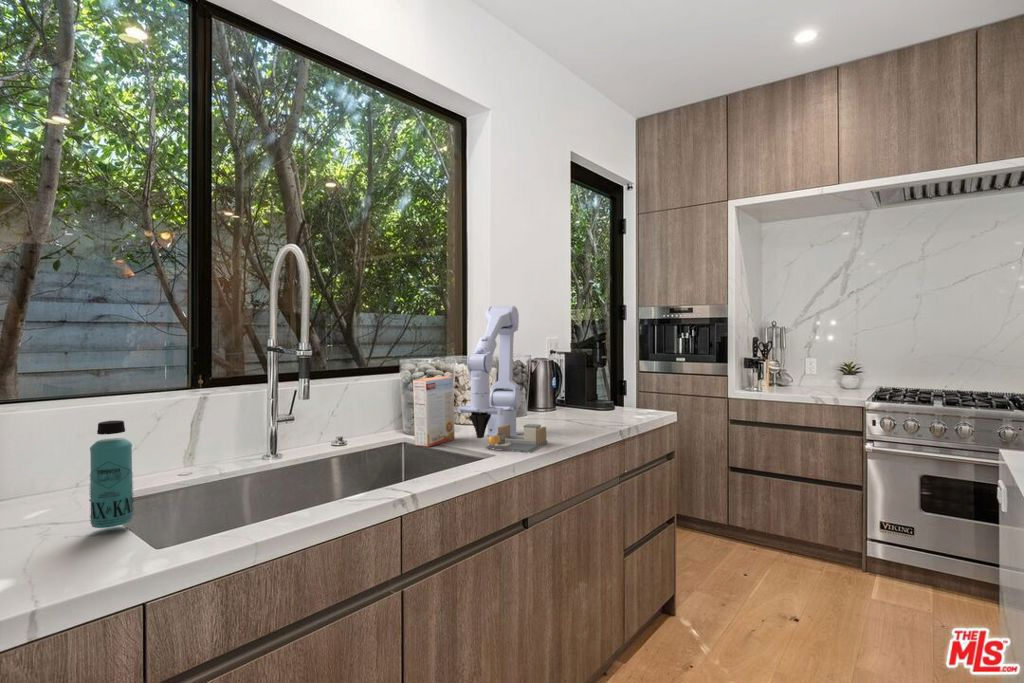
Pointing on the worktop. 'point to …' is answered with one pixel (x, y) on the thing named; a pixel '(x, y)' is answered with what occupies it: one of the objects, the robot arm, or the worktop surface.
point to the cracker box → (433, 410)
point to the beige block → (530, 431)
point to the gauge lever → (494, 439)
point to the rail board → (521, 440)
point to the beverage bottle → (111, 478)
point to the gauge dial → (502, 441)
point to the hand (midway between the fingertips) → (480, 437)
